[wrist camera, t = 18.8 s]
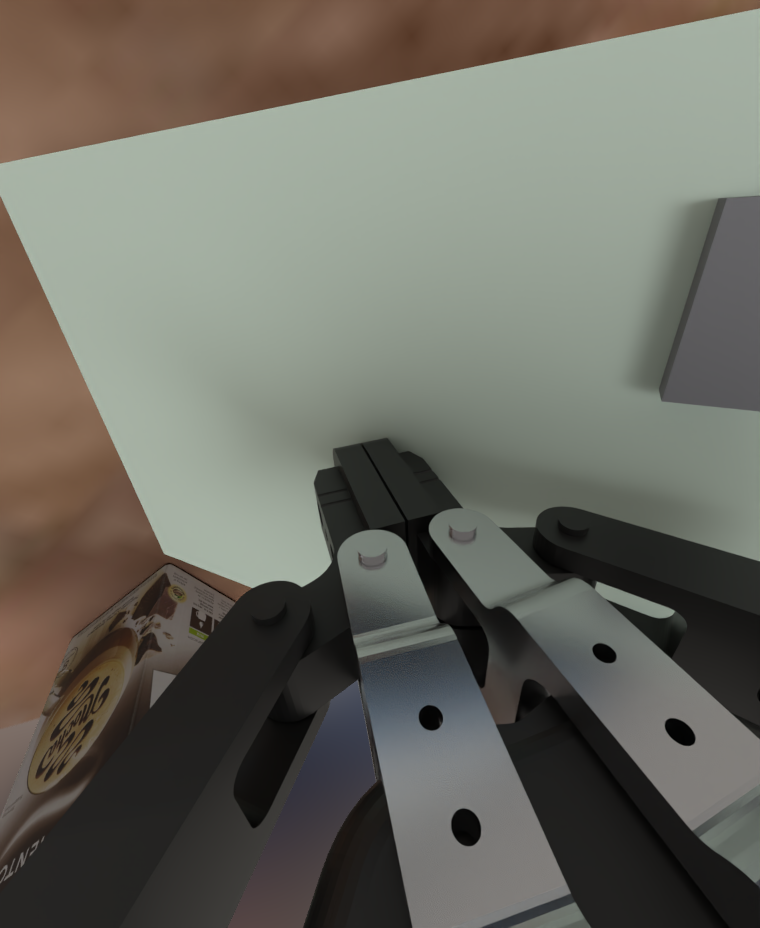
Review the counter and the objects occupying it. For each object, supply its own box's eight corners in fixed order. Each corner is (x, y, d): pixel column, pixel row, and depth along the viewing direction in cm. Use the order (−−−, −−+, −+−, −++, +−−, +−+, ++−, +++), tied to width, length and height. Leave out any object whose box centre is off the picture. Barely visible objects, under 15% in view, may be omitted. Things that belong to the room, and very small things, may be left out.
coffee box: (165, 559, 27) (95, 891, 14) (238, 601, 30) (239, 897, 17) (65, 638, 28) (-94, 1025, 14) (148, 671, 31) (81, 1004, 18)
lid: (1122, -35, 5) (1332, -130, 3) (674, 714, 13) (681, 774, 12) (29, 168, 13) (-37, 165, 12) (182, 538, 22) (154, 561, 20)
